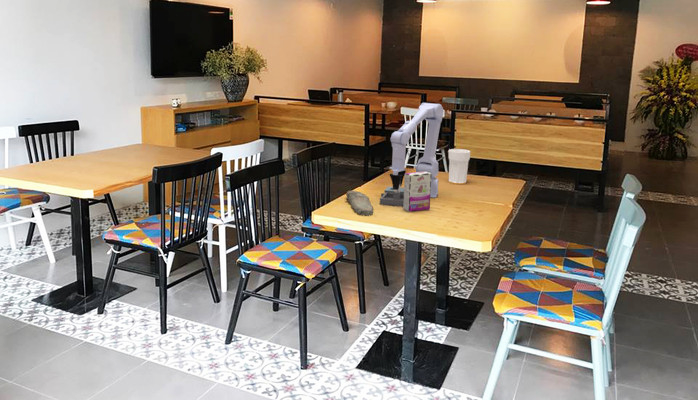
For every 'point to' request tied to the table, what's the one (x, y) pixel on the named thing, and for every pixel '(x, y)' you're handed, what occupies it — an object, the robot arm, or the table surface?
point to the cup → (458, 165)
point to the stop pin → (396, 193)
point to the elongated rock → (360, 203)
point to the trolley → (390, 190)
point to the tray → (391, 200)
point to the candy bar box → (417, 191)
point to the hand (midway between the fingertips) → (397, 187)
